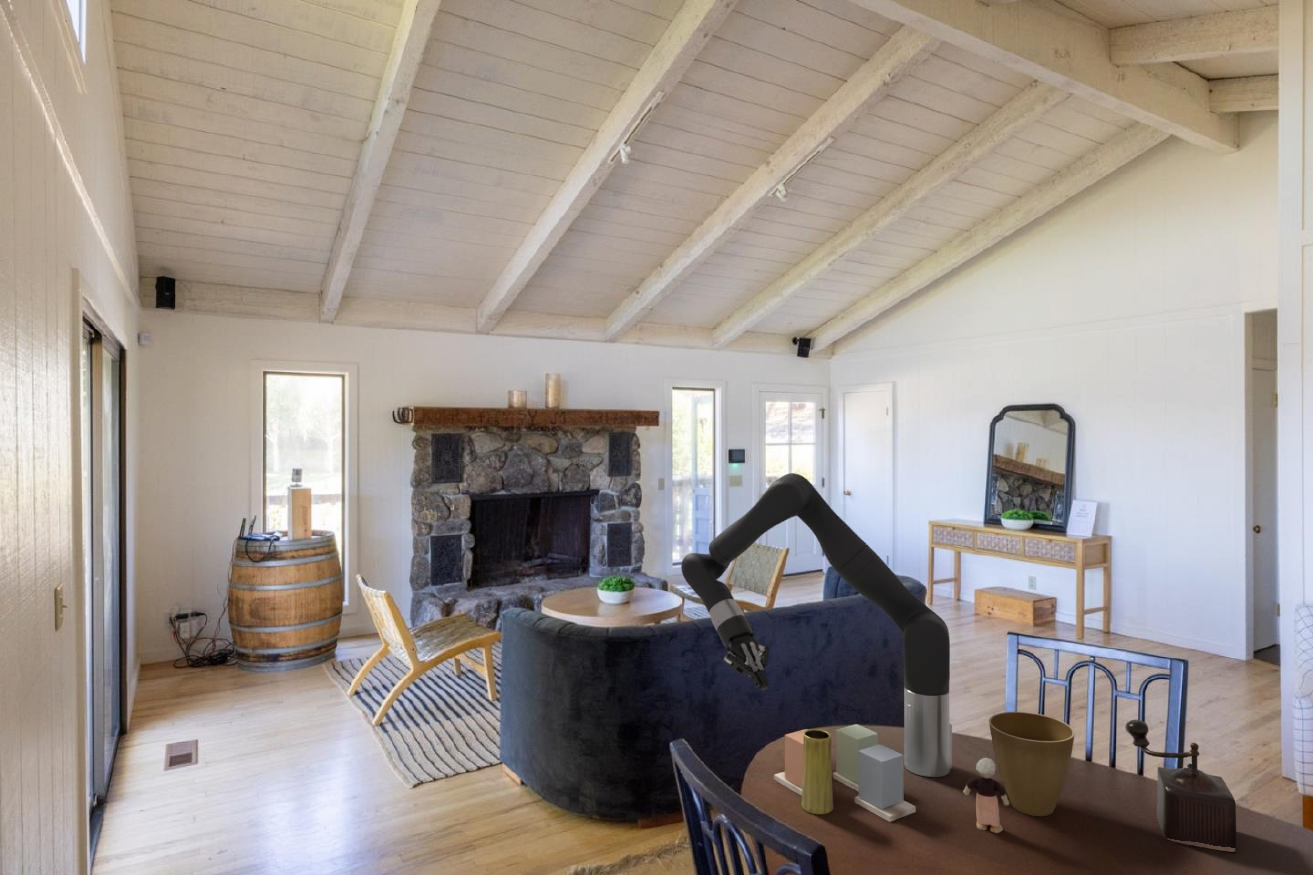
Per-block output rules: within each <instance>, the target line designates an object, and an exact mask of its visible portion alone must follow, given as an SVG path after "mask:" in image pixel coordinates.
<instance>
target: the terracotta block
mask: <svg viewBox="0 0 1313 875" xmlns="http://www.w3.org/2000/svg"><path fill="white" fill-rule="evenodd" d="M806 730H809V729H808V728H805V729H801V730H798V731H794V732H790V733H787V734H784V771H785V779H787V780H789V781H791V782H792V783H794V784H796V785H798V786H799V787H801V788H802V783H803V752H804V732H805V731H806Z"/></svg>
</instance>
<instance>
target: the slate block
mask: <svg viewBox="0 0 1313 875" xmlns="http://www.w3.org/2000/svg"><path fill="white" fill-rule="evenodd" d="M904 788H905V787H904V754H902V753H900V752H898V751H895V750H893V749H891V748H889V747H886V746H884V745H882V744H880V743H878V745H875V746H872V747H869V748H866V749H862V750H859V751H858V791H857V793H858V794H857V796H858V797H860V798H862V799H864V800H866V801H868V802H870V803H871V804H873V805H875V806H877V807H879V808H881V809H884V808H887V807H889V806H892V805H895V804H897V803H900V802H903V801H905V800H904Z"/></svg>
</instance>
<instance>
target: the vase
mask: <svg viewBox="0 0 1313 875" xmlns="http://www.w3.org/2000/svg"><path fill="white" fill-rule="evenodd" d="M833 794H834V793H833V772H832V734H831V733H830V732H828V731H826V730H824V729H819V728H818V729H817V728H810V729H808V730H806V731H805V732H804V752H803V783H802V796H801V804H800V805H801V808H802V809H803V810H804V811H805V812H807V813H810V814H813V815H820V816H821V815H828V814H831V812H833V811H834V800H833V799H834V798H833Z"/></svg>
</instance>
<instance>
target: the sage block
mask: <svg viewBox="0 0 1313 875" xmlns="http://www.w3.org/2000/svg"><path fill="white" fill-rule="evenodd" d="M835 745H836V746H835V748H836V750H835V751H836V752H835V755H836V756H835V759H836V760H835V761H836V762H835V769H836V771H835V772H837V773H838V774H840V775H842V776H844V777H846V778H848V779H850V780H852V781H854V782H856V783H858V751H859V750H862V749H866V748H869V747H872V746H875V745H879V733H878V732H877V731H875V730H874V731H873V730H871V729H869V728H867V727H864V726H862V725H861V724H857V723H854V724H852V725H848V726H845V727H841V728H838V729H836V730H835Z"/></svg>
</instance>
